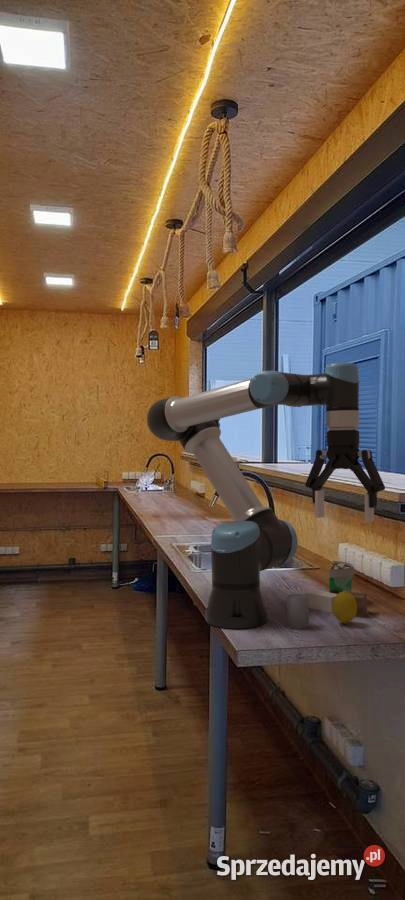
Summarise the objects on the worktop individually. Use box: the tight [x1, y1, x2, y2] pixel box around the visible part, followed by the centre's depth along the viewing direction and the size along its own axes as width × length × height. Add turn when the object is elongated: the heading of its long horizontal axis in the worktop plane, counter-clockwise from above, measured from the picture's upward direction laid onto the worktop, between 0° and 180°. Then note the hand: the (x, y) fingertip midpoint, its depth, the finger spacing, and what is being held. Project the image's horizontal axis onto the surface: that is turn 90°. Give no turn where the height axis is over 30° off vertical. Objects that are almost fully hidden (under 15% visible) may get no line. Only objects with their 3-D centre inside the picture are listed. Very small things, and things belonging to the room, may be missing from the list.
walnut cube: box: [347, 591, 368, 619], centre depth 158 cm, size 5×5×5 cm
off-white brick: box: [304, 589, 337, 614], centre depth 163 cm, size 4×8×4 cm, turn 45°
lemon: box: [332, 590, 357, 625], centre depth 149 cm, size 6×6×8 cm
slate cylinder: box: [286, 593, 310, 631], centre depth 148 cm, size 5×5×7 cm
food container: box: [328, 560, 356, 594], centre depth 168 cm, size 12×6×10 cm, turn 163°
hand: (343, 519), depth 149 cm, fingers open, 13 cm apart
